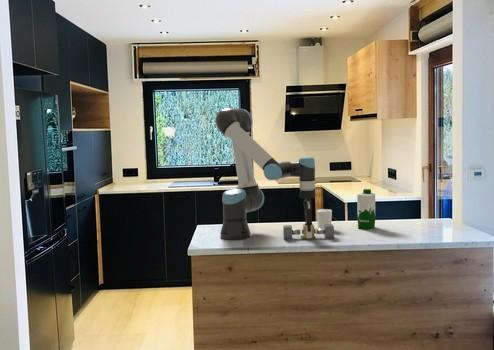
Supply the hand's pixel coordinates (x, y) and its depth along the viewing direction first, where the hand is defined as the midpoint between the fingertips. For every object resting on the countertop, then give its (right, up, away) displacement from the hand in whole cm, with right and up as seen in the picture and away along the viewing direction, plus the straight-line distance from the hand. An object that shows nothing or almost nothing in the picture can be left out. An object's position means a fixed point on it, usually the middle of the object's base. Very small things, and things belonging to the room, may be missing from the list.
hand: (308, 236), depth 235 cm
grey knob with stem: (+8, 0, 0) cm, 8 cm away
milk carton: (+33, +2, +19) cm, 38 cm away
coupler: (0, 0, 0) cm, 0 cm away
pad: (0, -1, 0) cm, 1 cm away
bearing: (-8, -1, 0) cm, 8 cm away
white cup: (+11, +1, +19) cm, 22 cm away
